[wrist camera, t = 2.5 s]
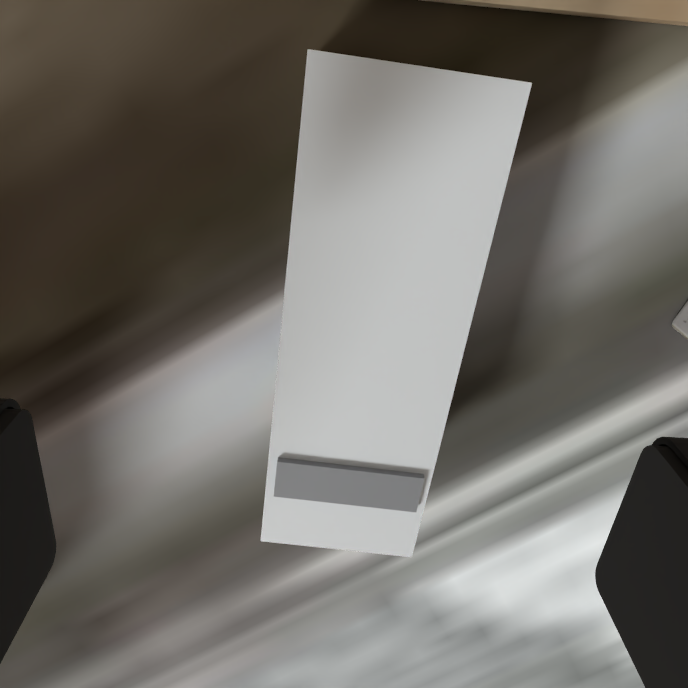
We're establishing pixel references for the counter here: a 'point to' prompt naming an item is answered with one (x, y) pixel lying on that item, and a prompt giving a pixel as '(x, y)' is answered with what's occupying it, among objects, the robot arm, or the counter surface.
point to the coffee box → (682, 321)
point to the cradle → (597, 8)
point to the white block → (380, 291)
